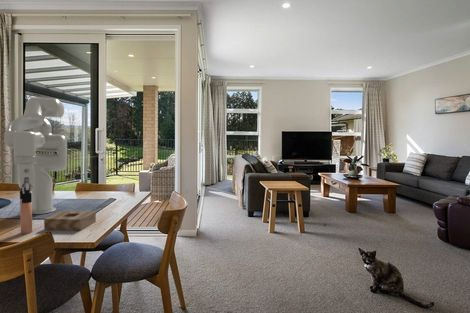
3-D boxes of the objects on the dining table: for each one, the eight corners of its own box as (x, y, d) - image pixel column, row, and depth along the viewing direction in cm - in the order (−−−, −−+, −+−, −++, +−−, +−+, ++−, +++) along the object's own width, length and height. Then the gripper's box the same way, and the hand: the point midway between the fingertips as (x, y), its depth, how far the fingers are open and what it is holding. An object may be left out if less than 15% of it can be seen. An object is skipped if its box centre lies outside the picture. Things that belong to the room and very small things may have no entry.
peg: (18, 234, 122) (17, 201, 121) (25, 231, 126) (24, 199, 125) (27, 234, 122) (27, 201, 121) (34, 231, 126) (33, 199, 125)
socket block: (44, 229, 128) (44, 218, 128) (62, 220, 142) (62, 210, 142) (80, 230, 128) (80, 219, 128) (95, 221, 142) (95, 211, 142)
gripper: (38, 161, 118) (39, 203, 118) (33, 159, 131) (33, 197, 132) (15, 162, 113) (16, 205, 114) (12, 159, 126) (13, 198, 127)
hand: (25, 201), depth 123 cm, fingers open, 9 cm apart
